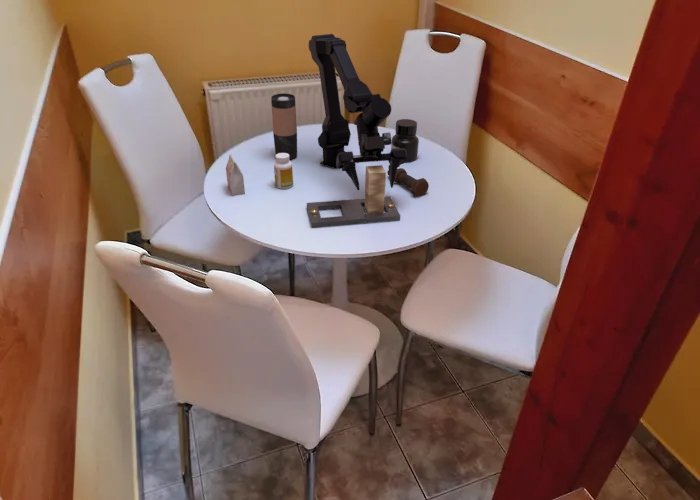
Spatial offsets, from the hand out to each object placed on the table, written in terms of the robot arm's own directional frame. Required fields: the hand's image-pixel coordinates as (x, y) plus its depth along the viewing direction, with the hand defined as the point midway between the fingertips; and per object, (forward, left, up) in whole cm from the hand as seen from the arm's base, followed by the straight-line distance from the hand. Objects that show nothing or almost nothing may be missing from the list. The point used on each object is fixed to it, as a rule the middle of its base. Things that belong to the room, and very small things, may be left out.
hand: (375, 188), depth 143 cm
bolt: (0, +19, -8) cm, 21 cm away
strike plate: (-5, -4, -8) cm, 10 cm away
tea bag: (-41, -10, -8) cm, 43 cm away
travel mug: (-43, +17, -8) cm, 47 cm away
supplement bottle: (-31, 0, -8) cm, 32 cm away
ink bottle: (-10, +38, -8) cm, 40 cm away
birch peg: (0, 0, -8) cm, 8 cm away
